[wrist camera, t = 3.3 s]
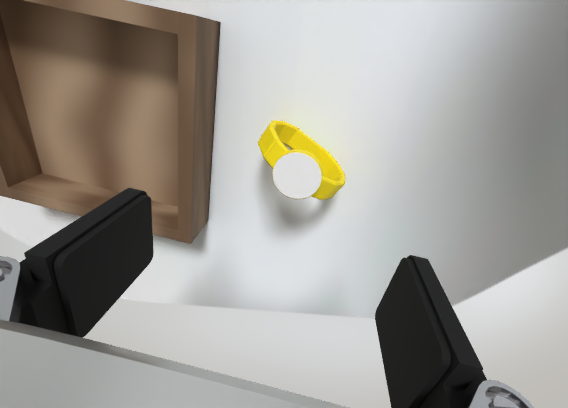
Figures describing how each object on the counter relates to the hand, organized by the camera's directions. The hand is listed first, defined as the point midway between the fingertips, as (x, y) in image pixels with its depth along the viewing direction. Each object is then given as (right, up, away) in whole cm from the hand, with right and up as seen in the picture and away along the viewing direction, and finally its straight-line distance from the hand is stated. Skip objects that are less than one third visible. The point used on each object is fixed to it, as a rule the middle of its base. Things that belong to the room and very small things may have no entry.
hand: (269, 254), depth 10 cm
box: (-13, +9, +11) cm, 19 cm away
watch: (+2, +6, +10) cm, 12 cm away
